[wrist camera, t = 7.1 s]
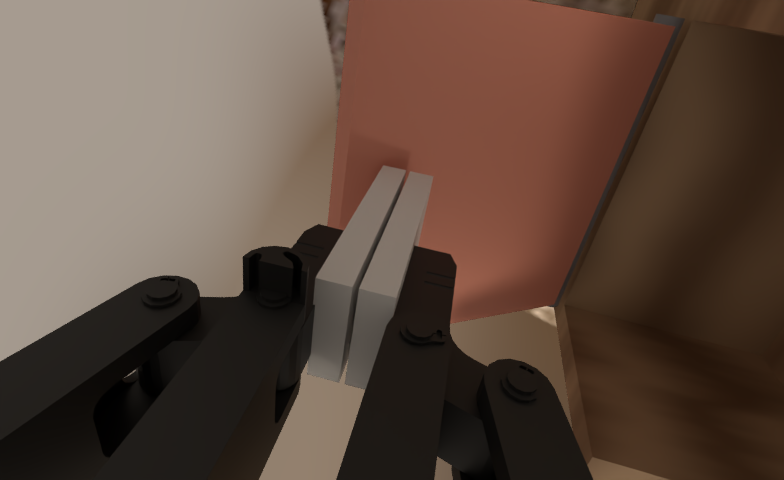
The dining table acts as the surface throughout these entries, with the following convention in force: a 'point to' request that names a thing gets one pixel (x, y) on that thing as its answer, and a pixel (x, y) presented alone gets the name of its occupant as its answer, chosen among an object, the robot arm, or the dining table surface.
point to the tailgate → (495, 130)
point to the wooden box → (689, 265)
